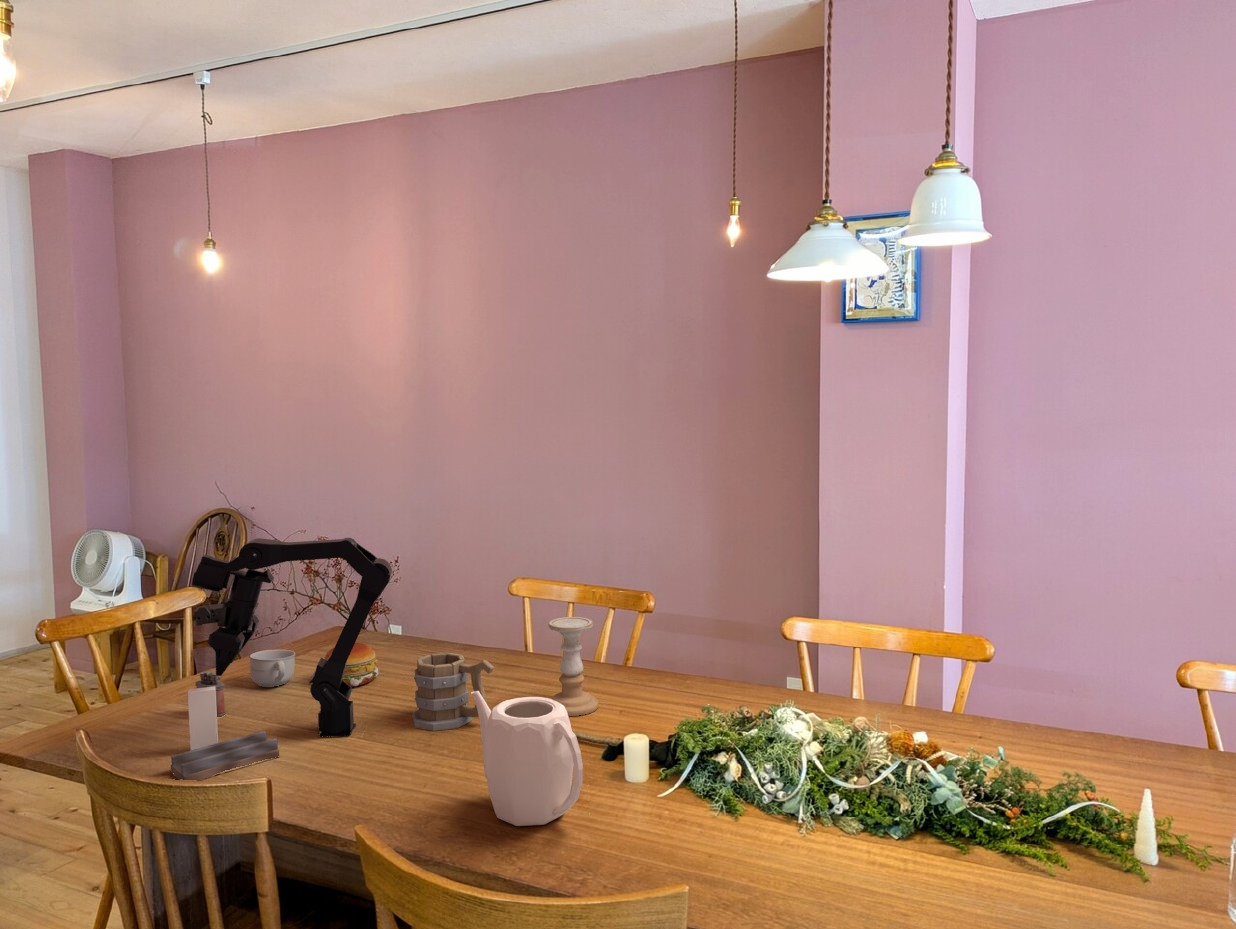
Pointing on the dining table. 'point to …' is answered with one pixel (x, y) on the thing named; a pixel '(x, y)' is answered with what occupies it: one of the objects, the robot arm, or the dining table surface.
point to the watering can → (529, 759)
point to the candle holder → (573, 667)
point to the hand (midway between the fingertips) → (224, 668)
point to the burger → (359, 665)
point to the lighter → (212, 680)
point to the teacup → (272, 667)
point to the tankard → (446, 691)
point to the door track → (223, 756)
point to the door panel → (202, 717)
